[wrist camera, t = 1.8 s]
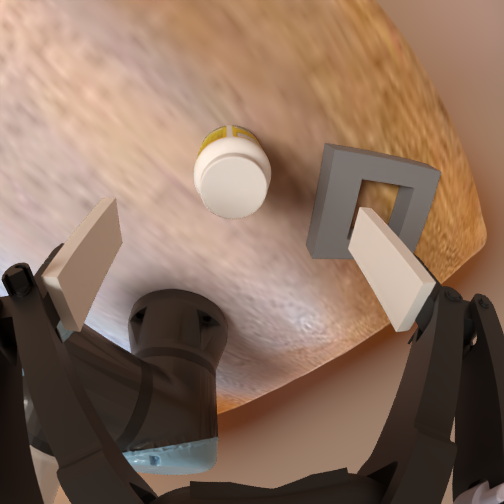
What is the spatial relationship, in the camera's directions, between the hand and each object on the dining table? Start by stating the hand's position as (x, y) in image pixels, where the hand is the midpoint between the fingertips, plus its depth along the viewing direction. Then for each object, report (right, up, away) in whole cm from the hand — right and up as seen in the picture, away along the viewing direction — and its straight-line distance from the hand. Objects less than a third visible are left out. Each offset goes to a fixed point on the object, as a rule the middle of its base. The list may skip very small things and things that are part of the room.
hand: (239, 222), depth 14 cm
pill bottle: (-2, +9, +14) cm, 16 cm away
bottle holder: (+15, +5, +18) cm, 24 cm away
